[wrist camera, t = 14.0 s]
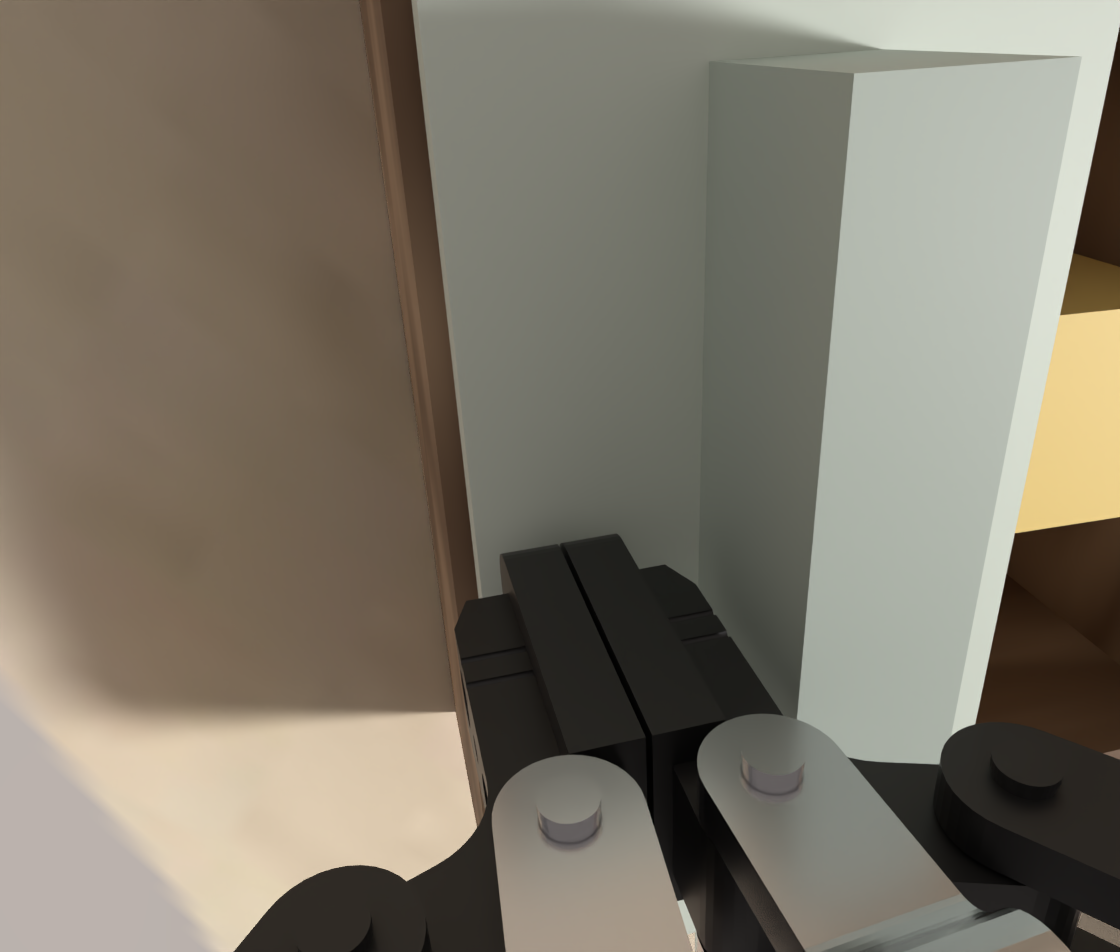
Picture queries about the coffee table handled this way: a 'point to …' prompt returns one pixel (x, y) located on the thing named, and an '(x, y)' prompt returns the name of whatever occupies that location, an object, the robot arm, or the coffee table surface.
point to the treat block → (1079, 408)
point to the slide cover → (768, 311)
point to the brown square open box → (1036, 556)
